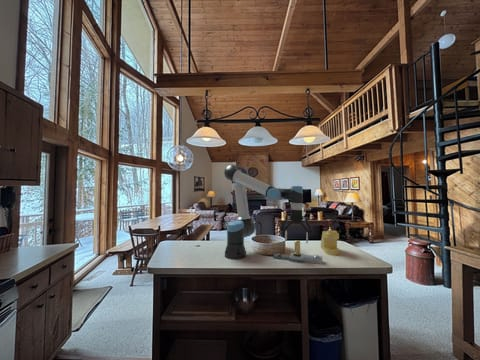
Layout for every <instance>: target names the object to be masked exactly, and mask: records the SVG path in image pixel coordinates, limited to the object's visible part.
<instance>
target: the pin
mask: <svg viewBox="0 0 480 360" xmlns="http://www.w3.org/2000/svg"><path fill="white" fill-rule="evenodd" d="M294 253H295V256H300V253H301V240H294Z"/></svg>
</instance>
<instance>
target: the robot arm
mask: <svg viewBox="0 0 480 360" xmlns="http://www.w3.org/2000/svg"><path fill="white" fill-rule="evenodd" d="M223 175H224V177H225V178H226V179H227V180H229V181H230V182H231V185H232V186H234V196H235V203H236V204H235V205H236V210H237V211H236V212H237V218H236V220H232V221H228V222H227V225H226V226H227V227H226V247H225V250H224V257H225V258H227V259H233V260H237V259H238V260H239V259H243V258H245V257H247V251H246V247H245V238H248V237H250V236H251V235H252V236H253V234H254V233H255V231H256V224H255V222H254V221H253V219H252V216H250V211H249V204H248V196H247V188H248V189H251V190H252V191H255V192H257V193H259V194H261V195H263V196H265V197H267V199H269V200H270V201H273V202H276V201H281V200H282V201H285V200H286V201H290V215H286V216H285V219H284V221H283V224H282V225H281V227H280V229H281V230H282V231H283V236H284V242H287V240H288V230H287V229H288V228H289V227H290V226H291V225H292V224H300V225H301V226H302V227H303V228H304V230H305V232H306V233H305V234H306V240H305V241H306V244H308V243H309V238H310V236H311V235H310V234H311V233H313V229H312V226H311V224H310V222H309V220H308V219H309V218H308V216H306V217H305V216H303V215H304V214H303V213H304V212H303V207H304V205H303V201H304V199H303V198H304V197H303V195H304V191H303V189H304V187H303V186H301V185H292V186H290V188H280V187H279V188H277V187H274V186H272V185H271V184H267V183H266V182H263V181H261V180H259V179H256V178H255V177H253V176H251V175H249V171H248V170H247V168H245V167H244V166H241V165H235V164H230V165H227V166H226V167H225V168H224V171H223ZM288 220H290V222H289V223H288V224H287V222H288ZM304 221H305V223H306V224H305V223H304ZM286 224H287V225H286Z"/></svg>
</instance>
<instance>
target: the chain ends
mask: <svg viewBox="0 0 480 360" xmlns="http://www.w3.org/2000/svg"><path fill="white" fill-rule="evenodd" d="M272 259H278V260H285V261H286V260H287V261H288V260H289V261H290V262H297V263H304V262H305V263H311V262H312V263H313V264H320V263H321V264H323V263H324V262H323V256H322V255H321V256H320V255H318V254H314V255H311V254H310V255H309V254H305V253H301V252H300V256H295V252H290V254H282V253H274V254H273V257H272ZM321 264H320V265H321Z"/></svg>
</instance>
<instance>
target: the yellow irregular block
mask: <svg viewBox="0 0 480 360" xmlns="http://www.w3.org/2000/svg"><path fill="white" fill-rule="evenodd" d="M338 240H340V234H339V232H338V231H337V230H333V229H331V230H330V229H329V230H322V233H321V241H320V248H321V249H322V251H323V253H325V254H326V255H328V256H339V255H340V248H338Z"/></svg>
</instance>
